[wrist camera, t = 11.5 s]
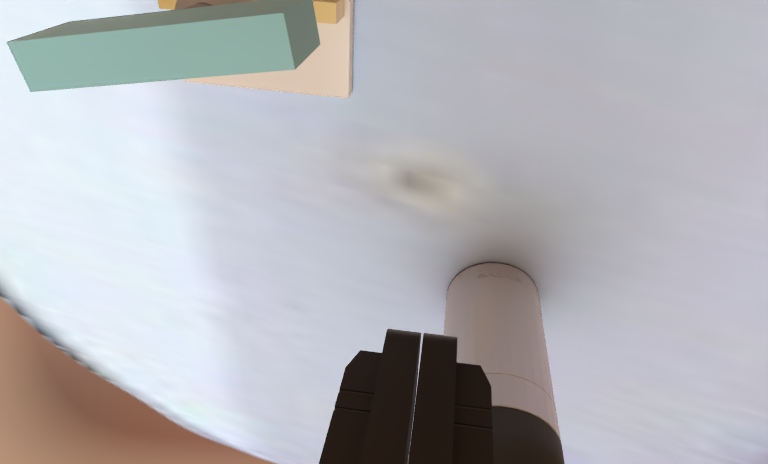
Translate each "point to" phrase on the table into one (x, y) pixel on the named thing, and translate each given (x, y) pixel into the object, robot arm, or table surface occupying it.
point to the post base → (318, 71)
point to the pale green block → (169, 45)
